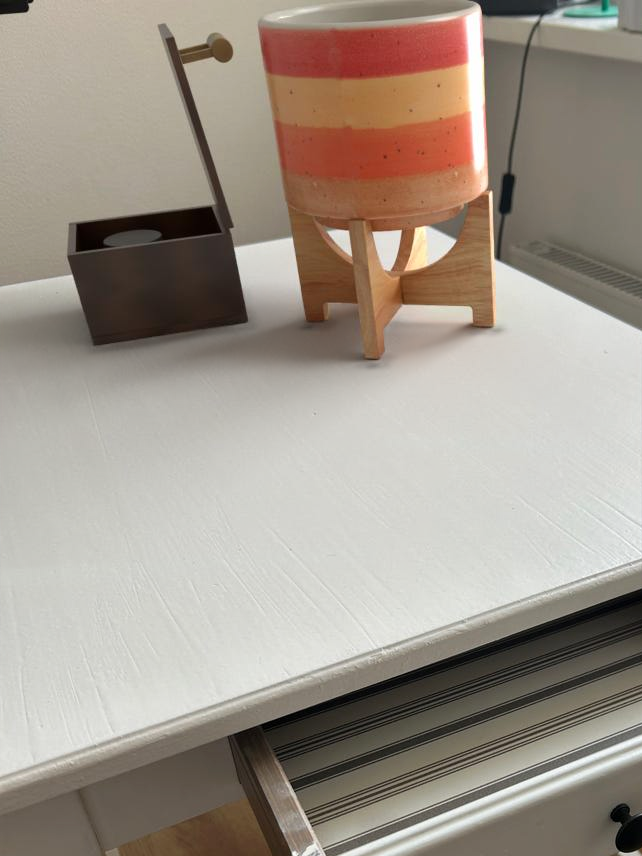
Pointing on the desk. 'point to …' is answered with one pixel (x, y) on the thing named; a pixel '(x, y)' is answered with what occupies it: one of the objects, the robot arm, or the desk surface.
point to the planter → (383, 152)
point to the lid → (222, 53)
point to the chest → (156, 275)
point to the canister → (132, 238)
